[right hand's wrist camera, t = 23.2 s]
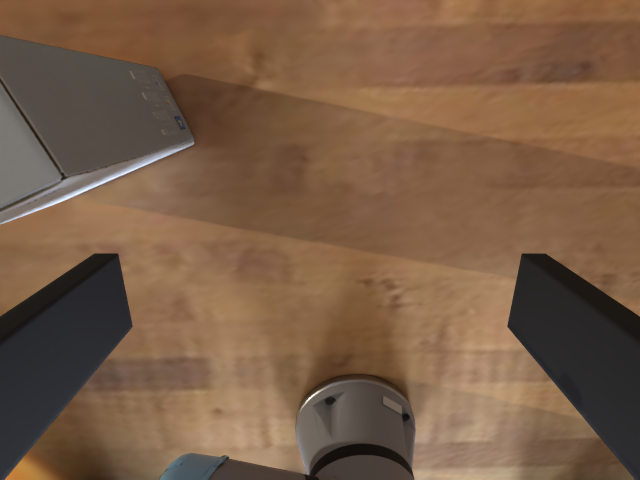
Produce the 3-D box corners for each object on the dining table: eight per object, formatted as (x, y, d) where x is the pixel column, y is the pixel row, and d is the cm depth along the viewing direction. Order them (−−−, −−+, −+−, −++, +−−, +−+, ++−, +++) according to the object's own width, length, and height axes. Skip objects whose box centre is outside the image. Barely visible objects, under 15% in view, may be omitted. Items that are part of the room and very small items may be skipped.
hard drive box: (158, 64, 35) (-33, 18, 16) (198, 142, 37) (74, 183, 18) (20, 131, 37) (-292, 160, 18) (67, 201, 39) (-165, 292, 20)
